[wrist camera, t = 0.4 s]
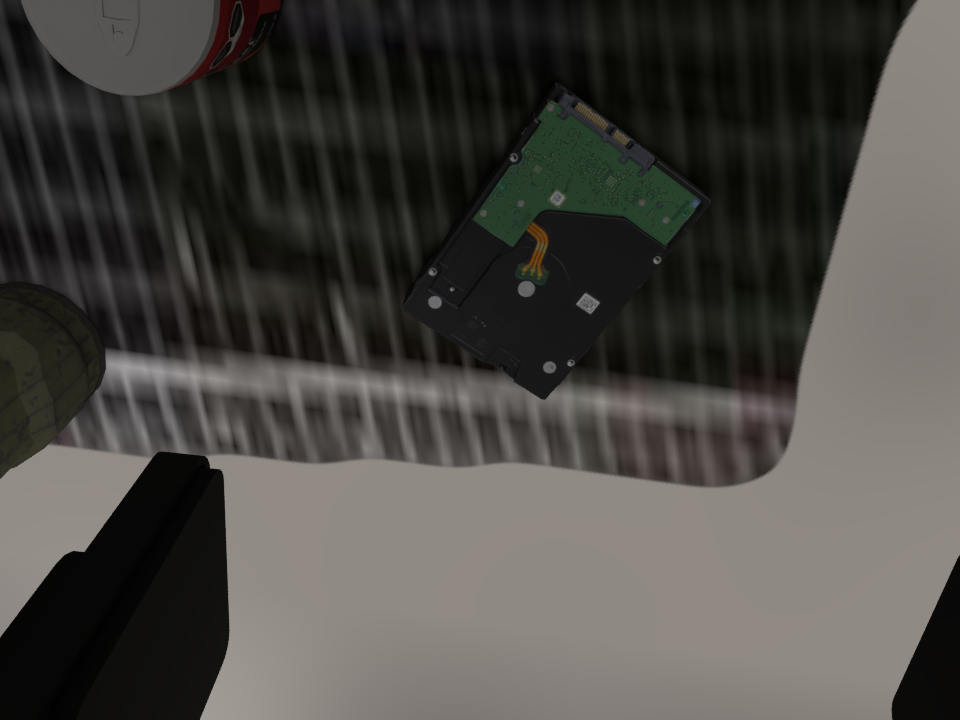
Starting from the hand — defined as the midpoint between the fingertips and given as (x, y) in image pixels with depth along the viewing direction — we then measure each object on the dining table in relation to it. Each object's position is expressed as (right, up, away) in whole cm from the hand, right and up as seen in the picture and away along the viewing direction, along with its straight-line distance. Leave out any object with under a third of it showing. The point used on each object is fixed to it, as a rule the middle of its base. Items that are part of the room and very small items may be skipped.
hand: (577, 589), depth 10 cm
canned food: (-15, +22, +30) cm, 40 cm away
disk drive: (+3, +10, +36) cm, 38 cm away
